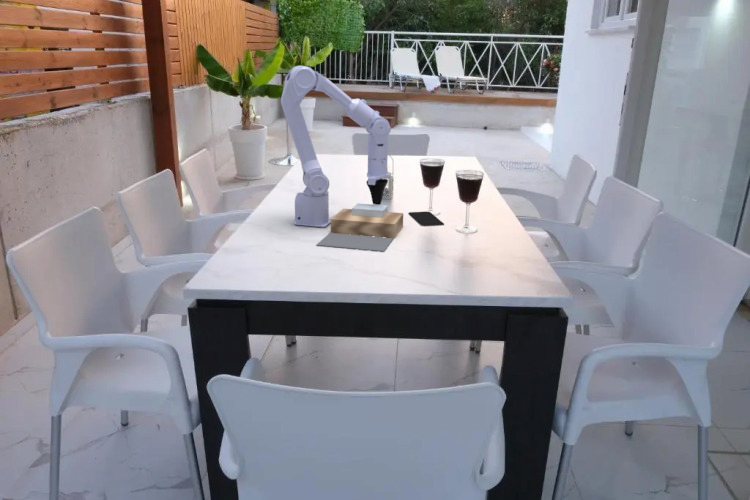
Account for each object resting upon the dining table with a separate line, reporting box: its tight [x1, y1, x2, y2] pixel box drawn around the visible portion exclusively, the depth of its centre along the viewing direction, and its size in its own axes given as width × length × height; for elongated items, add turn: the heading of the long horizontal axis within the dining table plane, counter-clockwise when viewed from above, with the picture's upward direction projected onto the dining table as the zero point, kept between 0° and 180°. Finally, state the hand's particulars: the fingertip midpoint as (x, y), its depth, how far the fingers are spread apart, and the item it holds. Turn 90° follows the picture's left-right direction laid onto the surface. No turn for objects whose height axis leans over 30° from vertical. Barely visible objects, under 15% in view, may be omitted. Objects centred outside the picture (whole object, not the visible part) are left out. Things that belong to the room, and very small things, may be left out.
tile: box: [351, 202, 389, 218], centre depth 168 cm, size 9×6×2 cm, turn 76°
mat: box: [315, 232, 394, 253], centre depth 155 cm, size 18×11×1 cm, turn 76°
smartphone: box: [408, 211, 445, 227], centre depth 179 cm, size 7×1×15 cm
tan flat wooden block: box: [330, 208, 404, 239], centre depth 166 cm, size 18×12×4 cm, turn 76°
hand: (376, 204), depth 175 cm, fingers closed
